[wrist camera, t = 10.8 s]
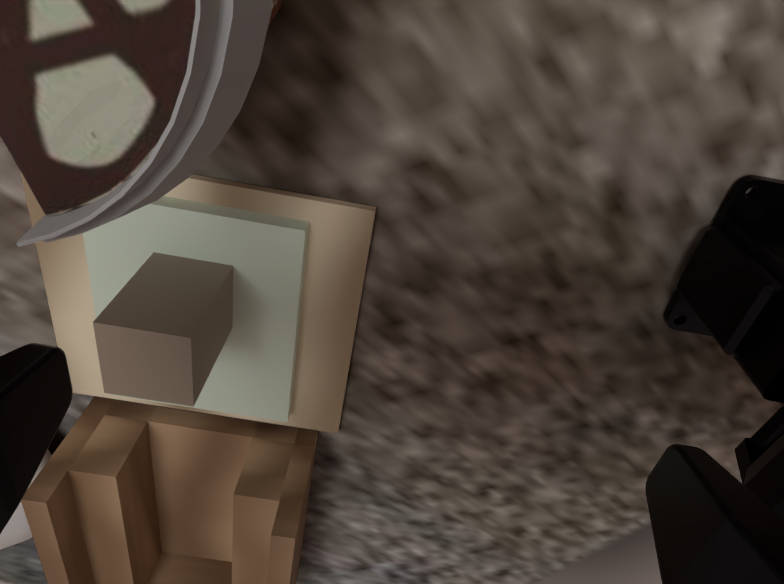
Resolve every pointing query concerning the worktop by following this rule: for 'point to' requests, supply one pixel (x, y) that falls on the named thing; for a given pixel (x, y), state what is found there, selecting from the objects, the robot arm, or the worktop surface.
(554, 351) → the worktop surface
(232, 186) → the mat
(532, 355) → the worktop surface
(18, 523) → the flower in vase
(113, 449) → the box
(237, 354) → the lid
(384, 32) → the worktop surface
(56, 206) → the food container
